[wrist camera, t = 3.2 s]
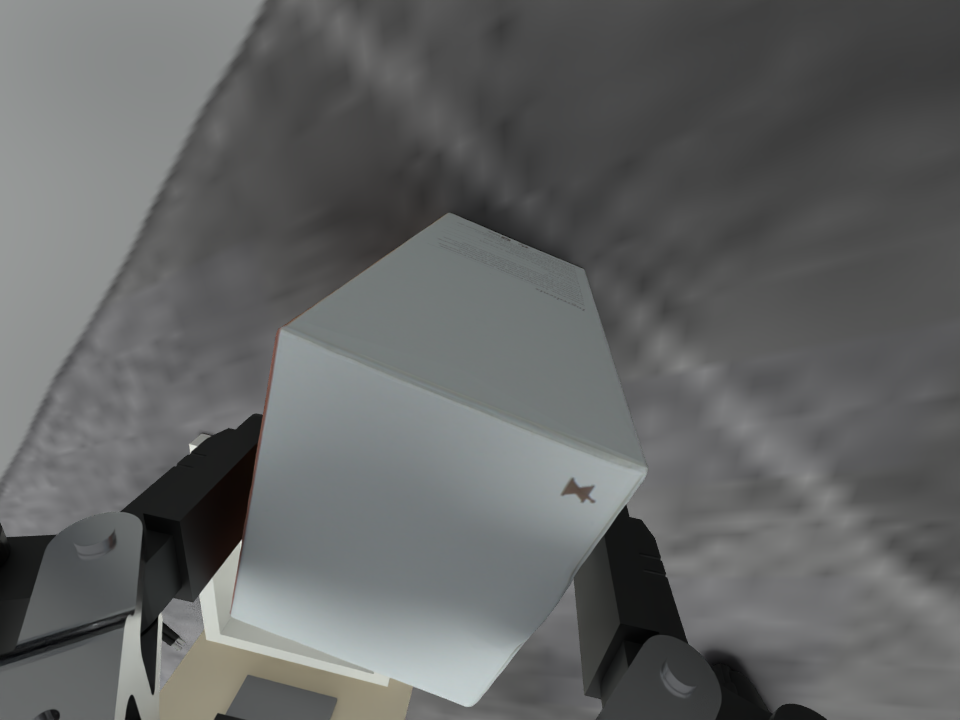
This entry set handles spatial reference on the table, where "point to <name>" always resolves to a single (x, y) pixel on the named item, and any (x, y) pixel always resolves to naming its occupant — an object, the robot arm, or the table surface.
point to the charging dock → (269, 671)
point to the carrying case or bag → (737, 684)
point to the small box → (435, 460)
